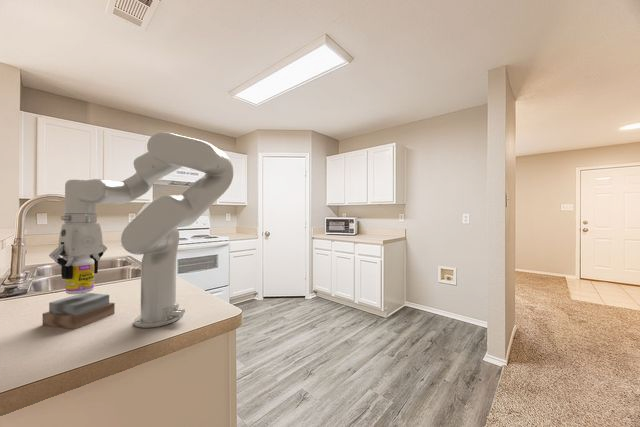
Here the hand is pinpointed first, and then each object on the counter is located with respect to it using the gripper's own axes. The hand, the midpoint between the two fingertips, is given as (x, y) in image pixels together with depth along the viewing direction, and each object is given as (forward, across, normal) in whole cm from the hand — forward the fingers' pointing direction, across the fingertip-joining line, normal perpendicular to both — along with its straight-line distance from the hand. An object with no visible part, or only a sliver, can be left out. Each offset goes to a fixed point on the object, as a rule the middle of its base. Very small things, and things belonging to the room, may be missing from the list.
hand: (80, 275), depth 83 cm
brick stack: (+14, 0, 0) cm, 14 cm away
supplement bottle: (+5, 0, 0) cm, 5 cm away
